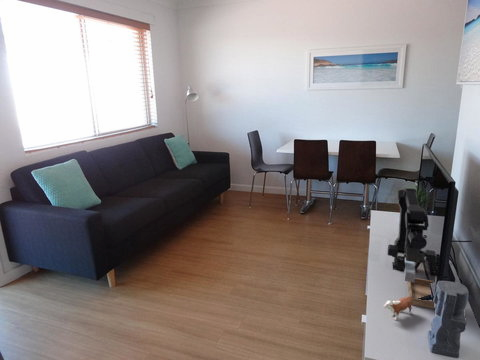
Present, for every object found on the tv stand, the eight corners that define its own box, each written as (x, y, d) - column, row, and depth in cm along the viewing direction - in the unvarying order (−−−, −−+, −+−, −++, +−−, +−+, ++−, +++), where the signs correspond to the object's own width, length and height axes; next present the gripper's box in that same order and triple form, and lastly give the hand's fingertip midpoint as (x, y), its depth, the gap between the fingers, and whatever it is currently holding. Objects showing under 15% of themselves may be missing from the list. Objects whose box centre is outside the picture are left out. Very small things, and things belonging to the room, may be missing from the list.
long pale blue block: (404, 265, 159) (405, 257, 158) (413, 266, 158) (414, 258, 157) (404, 280, 148) (405, 272, 147) (414, 282, 146) (415, 274, 145)
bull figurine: (380, 316, 142) (382, 299, 139) (406, 308, 146) (408, 291, 144) (388, 323, 138) (390, 305, 135) (415, 314, 142) (417, 297, 140)
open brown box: (407, 282, 164) (408, 276, 163) (434, 286, 160) (435, 281, 159) (410, 304, 148) (410, 298, 148) (440, 309, 144) (441, 303, 144)
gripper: (388, 242, 145) (385, 276, 150) (440, 250, 138) (435, 285, 143) (389, 232, 155) (386, 263, 159) (437, 238, 148) (432, 271, 152)
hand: (409, 270), depth 153 cm, fingers closed on long pale blue block, 4 cm apart
